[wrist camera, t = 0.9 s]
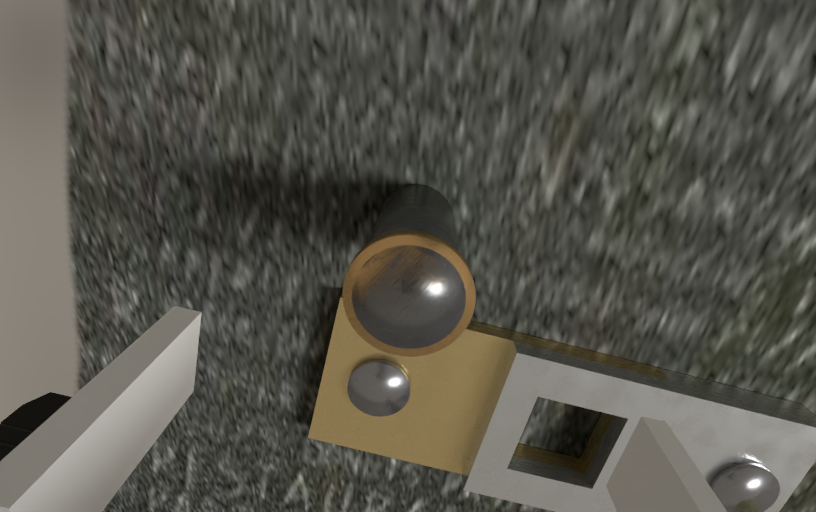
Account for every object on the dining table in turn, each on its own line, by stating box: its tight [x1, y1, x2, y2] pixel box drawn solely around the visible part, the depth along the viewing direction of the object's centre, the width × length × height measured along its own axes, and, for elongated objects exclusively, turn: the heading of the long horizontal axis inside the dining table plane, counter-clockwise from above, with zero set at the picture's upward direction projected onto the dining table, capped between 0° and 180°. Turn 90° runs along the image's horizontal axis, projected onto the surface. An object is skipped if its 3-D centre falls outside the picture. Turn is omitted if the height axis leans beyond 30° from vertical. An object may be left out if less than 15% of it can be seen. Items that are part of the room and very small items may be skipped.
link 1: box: [308, 292, 669, 474], centre depth 35 cm, size 12×23×2 cm, turn 76°
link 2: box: [462, 341, 816, 512], centre depth 35 cm, size 12×22×4 cm, turn 76°
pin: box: [343, 184, 476, 357], centre depth 26 cm, size 6×6×12 cm
